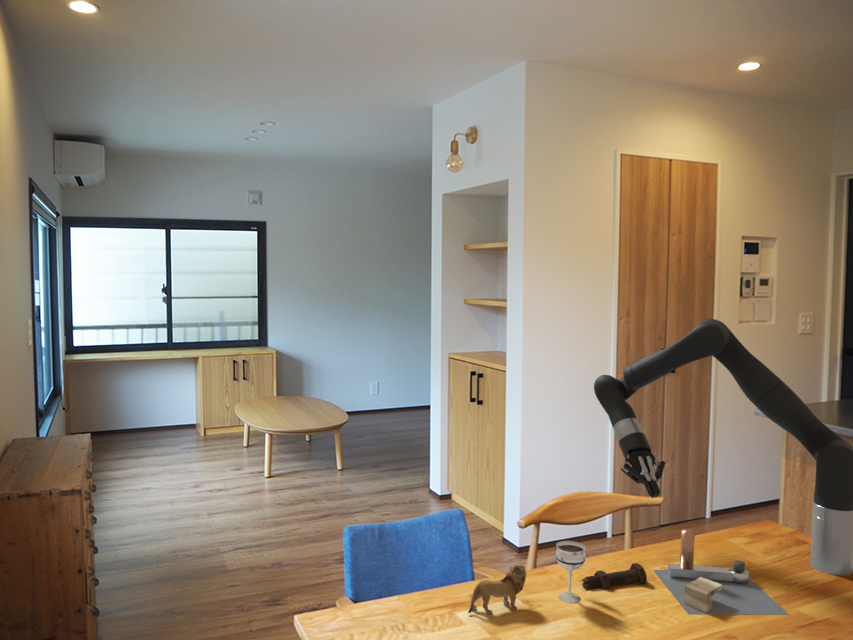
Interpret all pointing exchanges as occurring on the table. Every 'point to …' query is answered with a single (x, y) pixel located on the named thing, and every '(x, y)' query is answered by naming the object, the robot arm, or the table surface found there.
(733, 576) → the link
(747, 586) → the board
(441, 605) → the table surface
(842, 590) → the table surface
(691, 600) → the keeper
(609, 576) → the bolt
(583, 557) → the wineglass
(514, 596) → the lion figurine
